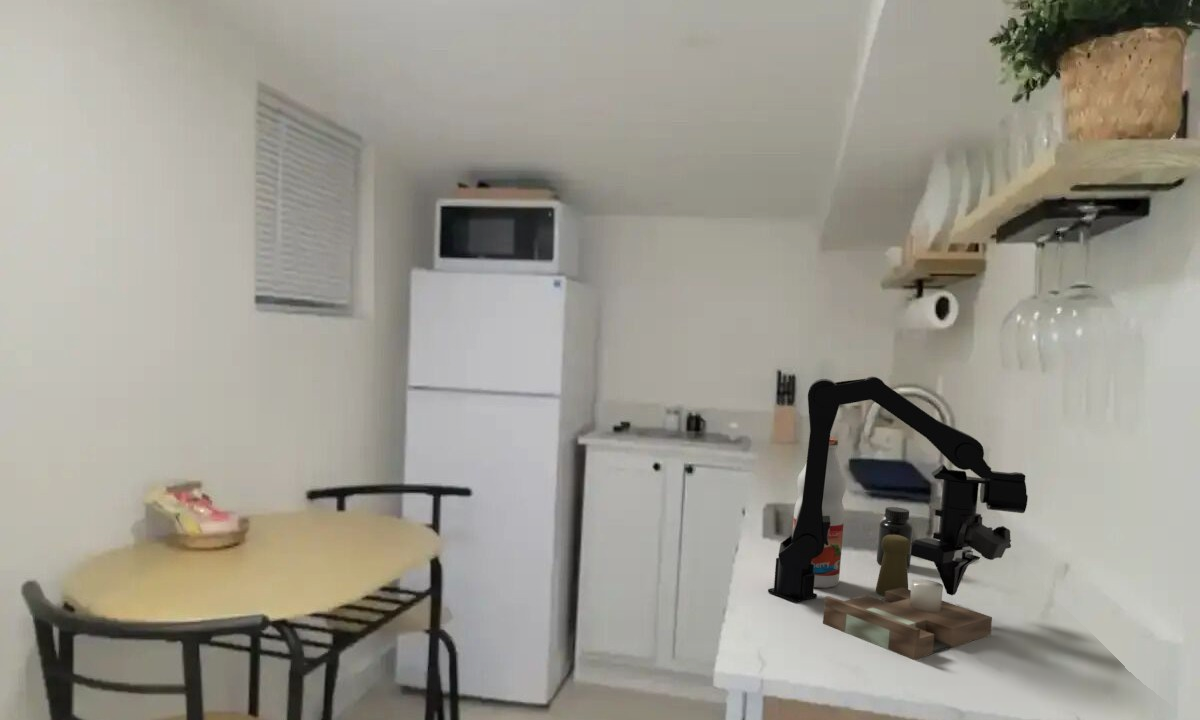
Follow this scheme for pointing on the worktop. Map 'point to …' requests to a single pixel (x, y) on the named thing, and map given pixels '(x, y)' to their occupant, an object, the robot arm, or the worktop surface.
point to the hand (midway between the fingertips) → (950, 594)
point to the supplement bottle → (894, 529)
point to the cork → (893, 564)
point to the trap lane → (905, 623)
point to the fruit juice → (833, 507)
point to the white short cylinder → (926, 595)
